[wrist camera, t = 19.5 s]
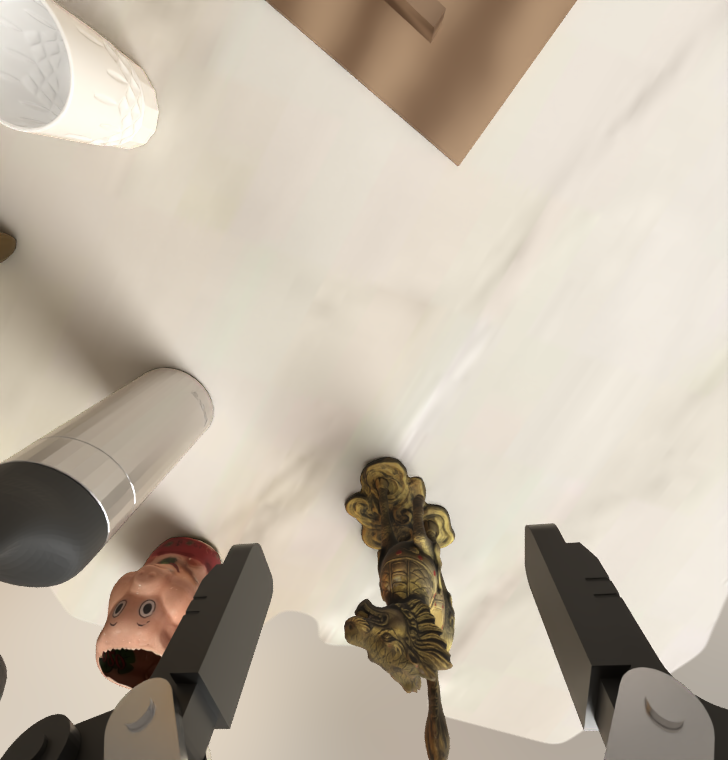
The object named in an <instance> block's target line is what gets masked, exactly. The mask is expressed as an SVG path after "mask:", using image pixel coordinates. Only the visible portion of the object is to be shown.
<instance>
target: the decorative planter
mask: <svg viewBox="0 0 728 760" xmlns="http://www.w3.org/2000/svg"><path fill="white" fill-rule="evenodd" d="M216 564H221V561H220V558H219V555H218V553H217V552H216V551H215V550H214V549H213V548H212V547H211V546H210V545H208V544H206V543H204V542H202V541H200V540H196V539H192V538H187V537H177V538H171V539H168V540H166V541H165V542H163V543H162V544H161V545H160V546H159V547H157V548H156V549H155V550H154V551H153V552H152V554H151V555H150V556H149V558H148V559H147V561H146V563H145V564H144V566H143V567H142V568H140V569H139V570H138V571H135V572H129V573H126V574H125V575H123V576H122V577H121V578H120V579H119V580H118V582H117V583H116V584H115V586H114V587H113V590H112V592H111V595H110V599H109V608H108V617H107V621H106V623H105V626H104V628H103V630H102V631H101V633H100V635H99V637H98V639H97V643H96V662H97V665H98V668H99V669H100V671H101V673H102V674H103V675H104V677H106V678H107V679H108V680H110V681H111V682H113V683H115V684H117V685H119V686H122V687H125V688H128V689H133V688H134V687H135V686H137V685H138V684H140V683H142V682H144V681H146V680H148V679H149V678H150V677H151V675H152V674H153V672H154V670H155V668H156V666H157V664H158V663H159V661H160V659H161V657H162V655H163V653H164V651H165V649H166V647H167V646H168V644H169V642H170V640H171V638H172V636H173V634H174V632H175V630H176V629H177V627H178V625H179V623H180V621H181V619H182V617H183V615H185V614H186V610H187V608H188V606H189V604H190V602H191V601H192V600H193V596H194V595H195V593H196V591H197V589H198V587H199V585H200V583H201V581H202V580H203V578H204V577H205V576H206V575H207V574H208V573H209V572H210V571H211V570H212V569H213V568H214V566H215V565H216Z"/></svg>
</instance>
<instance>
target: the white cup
mask: <svg viewBox="0 0 728 760" xmlns="http://www.w3.org/2000/svg"><path fill="white" fill-rule="evenodd" d="M158 115H159V109H158V104H157V99H156V94H155V90H154V88H153V86H152V84H151V83H150V81H149V79H148V77H147V76H146V74H145V72H144V71H143V69H142V68H140V67H139V66H138V65H137V64H136V63H134V62H133V61H132V60H131V59H130V58H128V57H127V56H126V55H125V54H123V53H122V52H120V51H119V50H117V49H116V48H115V46H114V45H113V44H111V43H110V42H109V41H108V40H106V39H105V38H103V37H102V36H101V35H100V34H99V33H97V32H96V31H95V30H93V29H92V28H91V27H89V26H88V25H86V24H85V23H84V22H82V21H81V20H79V19H78V18H77V17H75V16H74V15H72V14H71V13H70V12H68V11H67V10H65V9H64V8H63V7H61V6H60V5H58V4H57V3H56V2H54V1H53V0H0V123H1V124H3V125H5V126H7V127H9V128H12V129H14V130H18V131H22V132H28V133H33V134H39V135H44V136H49V137H54V138H60V139H65V140H71V141H76V142H81V143H86V144H94V145H100V146H105V145H108V146H115V147H120V148H125V149H133V148H136V147H139V146H142V145H145V144H146V143H147V141H148V140H149V139H150V138H151V136H152V135H153V134H154V132H155V131H156V126H157V120H158Z"/></svg>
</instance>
